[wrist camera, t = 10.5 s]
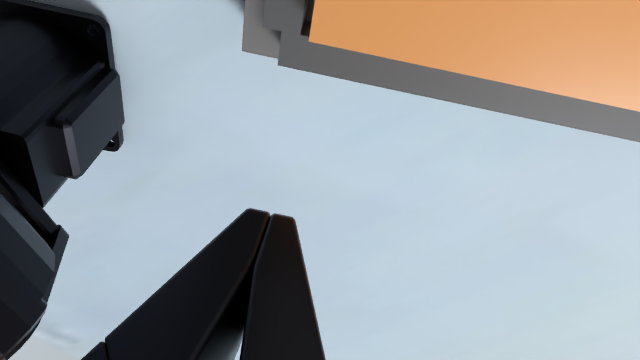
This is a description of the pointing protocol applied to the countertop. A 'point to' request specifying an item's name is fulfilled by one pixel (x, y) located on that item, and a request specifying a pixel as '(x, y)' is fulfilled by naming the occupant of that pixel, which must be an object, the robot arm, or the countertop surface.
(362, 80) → the panel
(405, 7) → the push button
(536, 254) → the countertop surface
